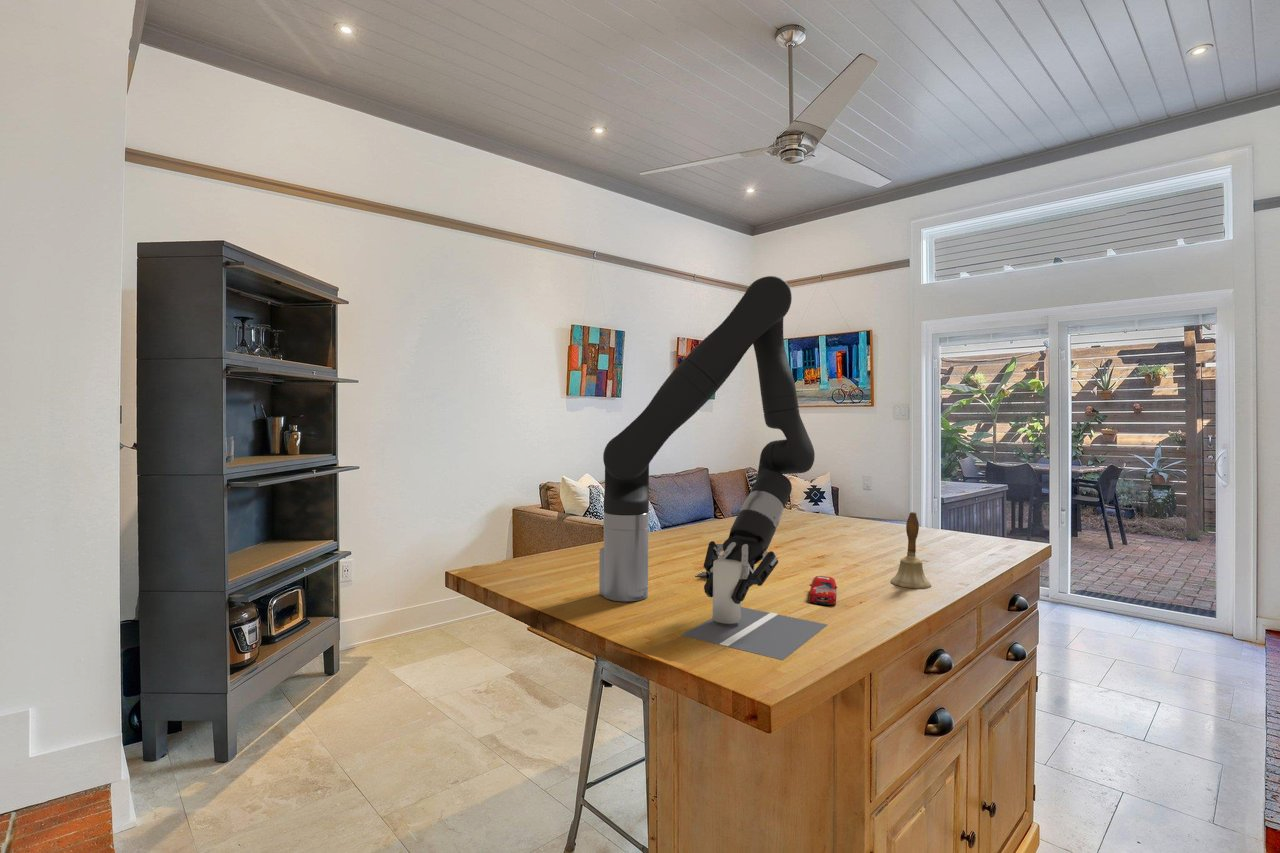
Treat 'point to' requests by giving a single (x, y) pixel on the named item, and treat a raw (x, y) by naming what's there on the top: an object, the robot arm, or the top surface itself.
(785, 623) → the gray striped mat
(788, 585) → the top surface
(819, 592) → the race car
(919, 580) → the hand bell
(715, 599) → the white cylinder
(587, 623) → the top surface
